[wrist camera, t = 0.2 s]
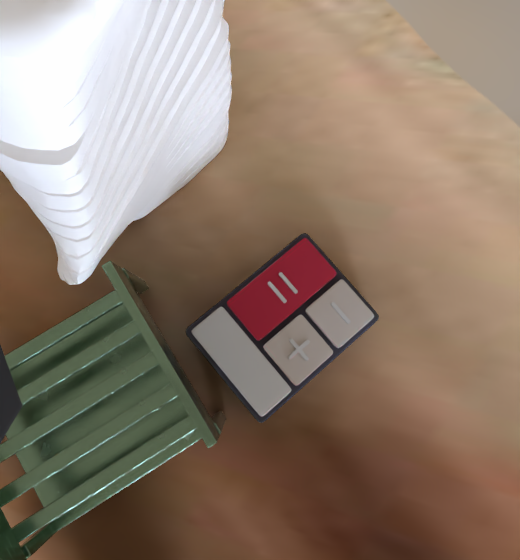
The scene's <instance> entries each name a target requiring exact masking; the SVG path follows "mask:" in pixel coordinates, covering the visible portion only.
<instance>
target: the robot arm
mask: <svg viewBox="0 0 520 560" xmlns="http://www.w3.org/2000/svg"><path fill="white" fill-rule="evenodd" d="M21 408H22V403H21V400H20V397H19V395H18V392H17V389H16V387H15V384H14V381H13V378H12V376H11V373H10V370H9V367H8V365H7V362H6V359H5V356H4V354H3V351H2V348H1V345H0V443H1V441H2V440H3V438H4V436H5V435H6V433H7V431H8V430H9V428H10V426H11V424H12V423H13V421H14V419H15V418H16V416H17V414H18V413H19V411H20V409H21Z"/></svg>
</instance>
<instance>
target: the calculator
mask: <svg viewBox="0 0 520 560" xmlns="http://www.w3.org/2000/svg"><path fill="white" fill-rule="evenodd" d="M378 318H379V316H378V314H377V313H376V311H375V310H374V309H373V308H372V307H371V306H370V305H369V304H368V302H367V301H366V300H365V299H364V298H363V297H362V296H361V294H360V293H359V292H358V291H357V290H356V289H355V288H354V286H353V285H352V284H351V283H350V282H349V281H348V280H347V279H346V277H345V276H344V275H343V274H342V273H341V272H340V271H339V269H338V268H337V267H336V266H335V265H334V264H333V263H332V261H331V260H330V259H329V258H328V257H327V256H326V255H325V254H324V252H323V251H322V250H321V249H320V248H319V247H318V246H317V244H316V243H315V242H314V241H313V240H312V239H311V238H310V236H309V235H308V234H306V233H303V234H301V235H300V236H298V237H297V238H296V239H295V240H294V241H292V242H291V243H290V244H289V245H288V246H286V247H285V248H284V249H283V250H281V251H280V252H279V253H278V254H277V255H275V256H274V257H273V258H272V259H271V260H269V261H268V262H267V263H266V264H264V265H263V266H262V267H261V268H260V269H258V270H257V271H256V272H255V273H253V274H252V275H251V276H250V277H249V278H247V279H246V280H245V281H244V282H243V283H241V284H240V285H239V286H238V287H236V288H235V289H234V290H233V291H232V292H230V293H229V294H228V295H227V296H226V297H224V298H223V299H222V300H221V301H219V302H218V303H217V304H216V305H215V306H213V307H212V308H211V309H210V310H208V311H207V312H206V313H205V314H204V315H202V316H201V317H200V318H199V319H198V320H196V321H195V322H194V323H193V324H191V325H190V326H189V327H188V328H187V329H186V335H187V336H188V337H189V338H190V340H191V341H192V342H193V343H194V345H195V346H196V347H197V348H198V349H199V351H200V352H201V353H202V354H203V355H204V357H205V358H206V359H207V360H208V362H209V363H210V364H211V365H212V366H213V368H214V369H215V370H216V371H217V373H218V374H219V375H220V376H221V377H222V379H223V380H224V381H225V382H226V383H227V385H228V386H229V387H230V388H231V390H232V391H233V392H234V393H235V394H236V396H237V397H238V398H239V399H240V401H241V402H242V403H243V404H244V405H245V407H246V408H247V409H248V410H249V411H250V413H251V414H252V415H253V416H254V418H255V419H256V420H257V421H258V422H260V423H262V422H264V421H266V420H267V419H268V418H269V417H270V416H271V415H272V414H273V413H275V412H276V411H277V410H278V409H279V408H280V407H281V406H282V405H283V404H285V403H286V402H287V401H288V400H289V399H290V398H291V397H292V396H294V395H295V394H296V393H297V392H298V391H299V390H300V389H301V388H303V387H304V386H305V385H306V384H307V383H308V382H309V381H310V380H311V379H313V378H314V377H315V376H316V375H317V374H318V373H319V372H320V371H322V370H323V369H324V368H325V367H326V366H327V365H328V364H329V363H330V362H332V361H333V360H334V359H335V358H336V357H337V356H338V355H339V354H341V353H342V352H343V351H344V350H345V349H346V348H347V347H348V346H349V345H351V344H352V343H353V342H354V341H355V340H356V339H357V338H358V337H360V336H361V335H362V334H363V333H364V332H365V331H366V330H367V329H368V328H370V327H371V326H372V325H373V324H374V323H375V322H376V321H377V320H378Z"/></svg>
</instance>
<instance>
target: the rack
mask: <svg viewBox="0 0 520 560" xmlns="http://www.w3.org/2000/svg"><path fill="white" fill-rule="evenodd" d="M102 268H103V270H104V271H105V273H106V275H107V276H108V278H109V280H110V282H111V283H112V285H113V287H114V288H115V290H114V291H112V292H111V293H109V294H107V295H106V296H104V297H102V298H101V299H99V300H97V301H96V302H94V303H92V304H90V305H89V306H87V307H85V308H84V309H82V310H80V311H79V312H77V313H75V314H74V315H72V316H70V317H69V318H67V319H65V320H64V321H62V322H60V323H59V324H57V325H55V326H54V327H52V328H50V329H49V330H47V331H45V332H44V333H42V334H40V335H39V336H37V337H35V338H33V339H32V340H30V341H28V342H27V343H25V344H23V345H22V346H20V347H18V348H17V349H15V350H13V351H12V352H10V353H8V354H7V355H5V359H6V362H7V365H8V367H9V370H10V373H11V376H12V378H13V381H14V384H15V387H16V389H17V392H18V395H19V397H20V400H21V403H22V408H21V409H20V411H19V413H18V414H17V416H16V418H15V419H14V421H13V423H12V424H11V426H10V428H9V430H8V431H7V433H6V437H7V439H8V440H7V441H5V442H4V443H2V444H1V445H0V463H1V462H3V461H5V460H6V459H8V458H9V457H11V456H13V455H14V454H16V456H17V457H18V459H19V461H20V463H21V465H22V467H23V469H24V471H25V473H26V474H24V475H23V476H21V477H19V478H18V479H16V480H15V481H13V482H11V483H10V484H8V485H7V486H5V487H3V488H2V489H0V560H27V558H29V557H30V556H31V555H32V554H34V553H35V552H36V551H37V550H38V549H39V548H40V547H41V546H42V545H43V544H44V543H45V542H46V541H47V540H48V539H49V538H51V537H52V536H53V535H54V534H55V533H56V532H57V531H58V530H60V529H62V528H63V527H65V526H66V525H68V524H69V523H71V522H72V521H74V520H76V519H77V518H79V517H80V516H82V515H83V514H85V513H86V512H88V511H90V510H91V509H93V508H94V507H96V506H97V505H99V504H100V503H102V502H104V501H105V500H107V499H108V498H110V497H111V496H113V495H114V494H116V493H118V492H119V491H121V490H122V489H124V488H125V487H127V486H128V485H130V484H132V483H133V482H135V481H136V480H138V479H139V478H141V477H142V476H144V475H146V474H147V473H149V472H150V471H152V470H153V469H155V468H156V467H158V466H159V465H161V464H163V463H164V462H166V461H167V460H169V459H170V458H172V457H173V456H175V455H177V454H178V453H180V452H181V451H183V450H184V449H186V448H187V447H189V446H191V445H192V444H194V443H195V442H197V441H198V440H200V439H201V438H202V439H203V441H204V442H205V444H206V446H207V448H209V447H211V446H213V445H214V444H216V443H217V441H218V438H219V435H220V434H221V432H222V429H223V426H224V424H225V421H226V417H225V415H224V413H223V412H222V410H220V411H219V412H217V413H216V414H214V415H213V416H212V418H211V417H210V415H209V413H208V412H207V410H206V408H205V407H204V405H203V403H202V402H201V400H200V398H199V397H198V395H197V393H196V391H195V390H194V388H193V386H192V385H191V383H190V381H189V380H188V378H187V376H186V374H185V373H184V371H183V369H182V368H181V366H180V364H179V363H178V361H177V359H176V358H175V356H174V354H173V352H172V351H171V349H170V347H169V346H168V344H167V342H166V341H165V339H164V337H163V336H162V334H161V332H160V330H159V329H158V327H157V325H156V324H155V322H154V320H153V319H152V317H151V315H150V313H149V312H148V310H147V308H146V307H145V305H144V303H143V302H142V300H141V298H140V297H139V295H138V293H137V292H139V293H143V292H144V291H146V290H148V289H149V287H148V286H147V284H146V282H145V281H144V280H142V279H141V278H139V277H138V276H136V275H134V274H133V273H131V272H129V271H128V270H126V269H125V268H121V267H119V266H118V265H116V264H114V263H113V262H111V261H109V262H107V263H106V264H104V265H102ZM32 487H33V488H34V490H35V492H36V493H37V495H38V497H39V499H40V501H41V503H42V505H43V507H44V508H42V509H41V510H39V511H37V512H36V513H34V514H33V515H31V516H29V517H28V518H26V519H25V520H23V521H22V522H20V523H18V524H17V525H15V526H14V527H12V528H11V527H10V525H9V523H8V522H7V520H6V518H5V516H4V514H3V512H2V510H1V507H2V506H4V505H5V504H7V503H9V502H10V501H12V500H13V499H15V498H17V497H18V496H20V495H21V494H23V493H25V492H26V491H28V490H29V489H31V488H32ZM39 529H40V530H39ZM37 530H39V531H37ZM36 531H37V532H36ZM34 532H36V533H35V534H34V535H33V536H32V537H30V538H29V539H28V540H27V541H26V542H25V543H23V544H22V545H21V546H20V545H19V542H20V541H22V540H23V539H25V538H27V537H28V536H30V535H31V534H33V533H34Z"/></svg>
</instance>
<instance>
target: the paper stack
mask: <svg viewBox="0 0 520 560" xmlns="http://www.w3.org/2000/svg"><path fill="white" fill-rule="evenodd" d="M224 2H225V0H0V170H1V171H2V172H3V173H4V174H5V176H6V177H7V178H8V179H9V181H10V183H11V184H12V186H13V188H14V189H15V190H16V192H17V193H18V194H19V195H20V196H21V197H22V198H23V199H24V200H25V201H26V202H27V203H28V205H29V206H30V208H31V209H32V210H33V212H34V213H35V215H36V216H37V217H38V218H39V220H40V221H41V222H42V223H43V225H44V226H45V227H46V229H47V230H48V232H49V233H50V235H51V237H52V239H53V240H54V242H55V246H56V251H57V254H58V267H57V271H58V274H59V276H60V278H61V280H63V281H66V282H67V283H68V284H69V285H76V284H81V283H82V282H84V281H85V280H86V279H87V278H89V277H90V276H91V274H92V273H93V271H94V270H95V268H96V266H97V265H98V263H99V262H100V260H101V258H102V257H103V256H104V255H105V254H106V252H107V251H108V249H109V248H110V247H111V246H112V244H113V243H114V242H115V240H116V239H117V238H118V237H119V236H120V234H121V233H122V232H123V231H124V229H125V228H126V227H127V226H128V225H129V224H130V223H131V222H132V221H134V220H138V219H141V218H142V217H144V216H146V215H147V214H149V213H150V212H151V211H152V210H154V209H155V208H156V207H158V206H159V205H160V204H161V203H163V202H164V201H165V200H167V199H168V198H169V197H170V196H172V195H173V194H174V193H175V192H177V191H178V190H179V189H181V188H182V187H184V186H185V185H186V184H187V183H188V182H189V181H190V180H192V179H193V178H194V177H195V176H196V175H197V174H198V173H199V172H200V171H201V170H202V168H204V167H205V166H206V165H207V164H208V163H209V162H210V161H211V160H213V159H214V158H215V157H216V156H217V154H218V153H219V152H220V151H221V150H222V149H223V147H224V144H225V142H226V139H227V136H228V125H229V119H228V109H229V106H230V102H231V94H232V87H231V84H230V82H231V79H232V73H231V71H230V70H231V58H230V55H229V53H230V42H229V41H228V34H229V26H228V23H227V22H226V21H225V19H224V18H223V17H222V14H223V9H224Z"/></svg>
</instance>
